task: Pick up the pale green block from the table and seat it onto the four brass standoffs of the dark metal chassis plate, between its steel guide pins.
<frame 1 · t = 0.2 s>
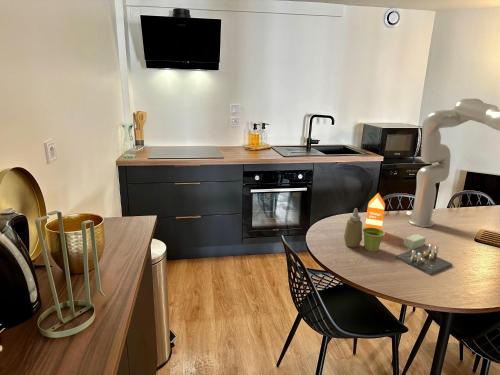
plant pot: (371, 249, 158), on the table
pale green block: (414, 245, 162), on the table
chassis: (423, 261, 147), on the table
orange juice: (372, 232, 175), on the table
squeeze bottle: (351, 245, 161), on the table
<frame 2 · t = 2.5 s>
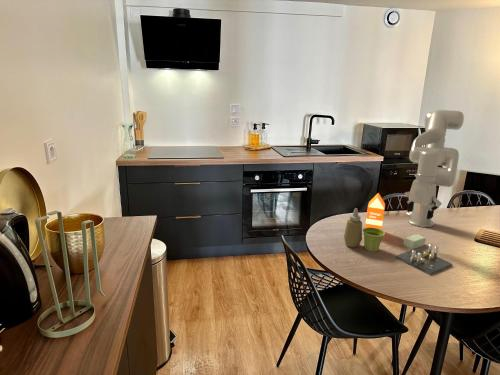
hand: (419, 214, 157), 15 cm above the table, tool pointing down, fingers open, 9 cm apart
nothing on the table moved.
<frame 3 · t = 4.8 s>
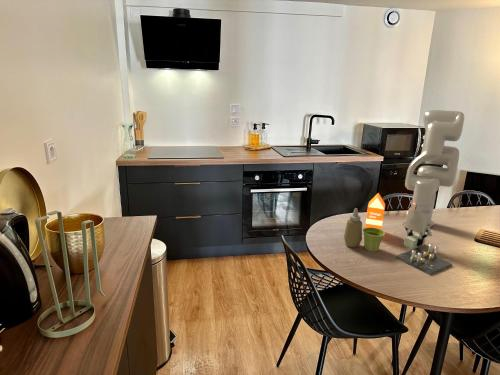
hand: (414, 243, 162), 1 cm above the table, tool pointing down, fingers closed on pale green block, 4 cm apart
pale green block: (414, 244, 162), on the table, touching gripper
everything else where it was.
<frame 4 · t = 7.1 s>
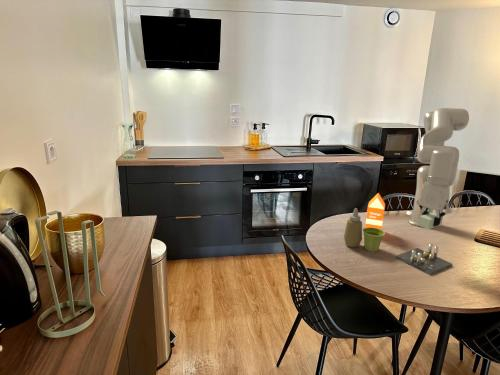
hand: (430, 223, 142), 18 cm above the table, tool pointing down, fingers closed on pale green block, 4 cm apart
pale green block: (429, 225, 142), point 17 cm above the table, touching gripper
everything else where it was.
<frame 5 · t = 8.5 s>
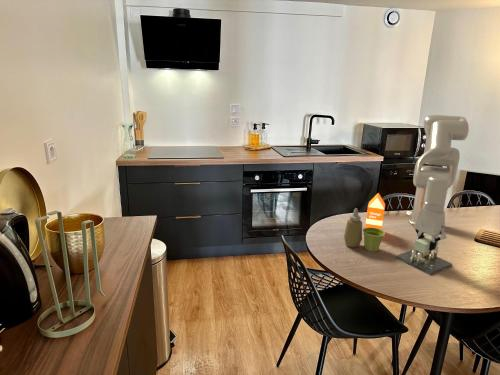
hand: (425, 247, 145), 7 cm above the table, tool pointing down, fingers closed on pale green block, 4 cm apart
pale green block: (425, 248, 145), point 6 cm above the table, touching gripper
everything else where it was.
when the fingers open (4 cm above the table, at t = 9.7 s): pale green block stays where it is, resting on chassis.
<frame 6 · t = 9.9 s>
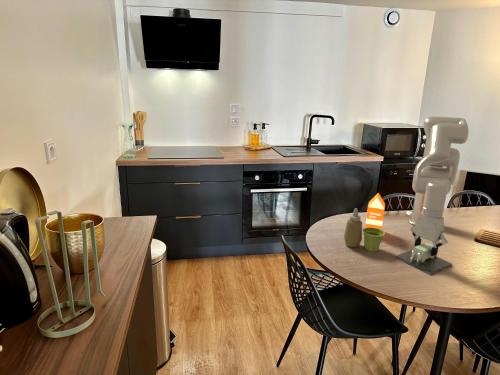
hand: (425, 251, 146), 5 cm above the table, tool pointing down, fingers open, 6 cm apart
pale green block: (424, 255, 146), point 3 cm above the table, touching chassis
everything else where it was.
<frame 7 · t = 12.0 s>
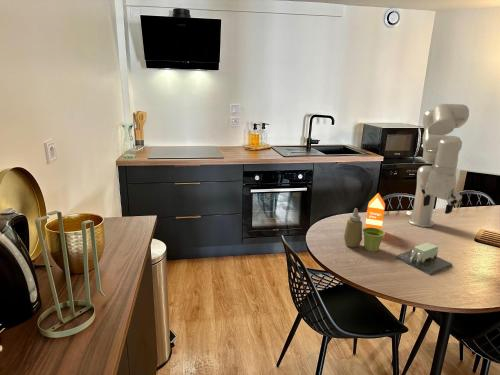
hand: (436, 209, 145), 22 cm above the table, tool pointing down, fingers open, 9 cm apart
nothing on the table moved.
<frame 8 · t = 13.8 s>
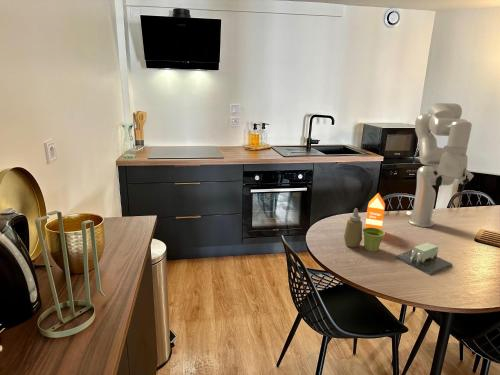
hand: (448, 189, 152), 28 cm above the table, tool pointing down, fingers open, 9 cm apart
nothing on the table moved.
at the end: pale green block 0.1 cm off-centre on the chassis, point 3.0 cm above the chassis's base; pale green block tilted 0°; the gripper is holding nothing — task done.
